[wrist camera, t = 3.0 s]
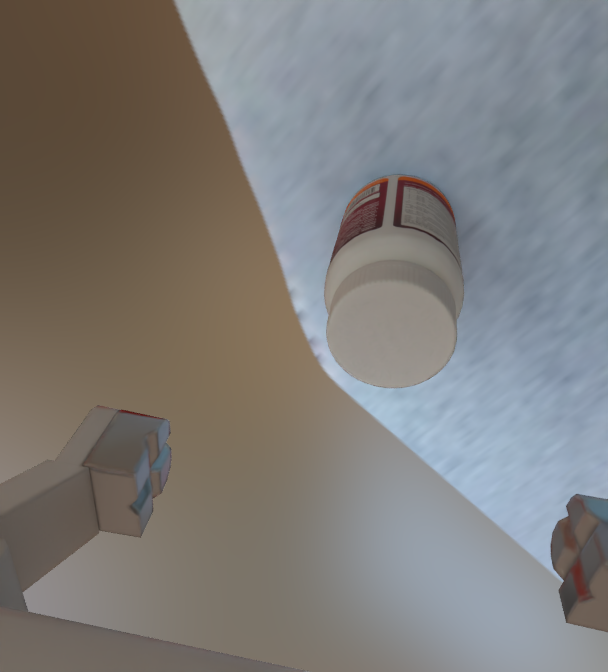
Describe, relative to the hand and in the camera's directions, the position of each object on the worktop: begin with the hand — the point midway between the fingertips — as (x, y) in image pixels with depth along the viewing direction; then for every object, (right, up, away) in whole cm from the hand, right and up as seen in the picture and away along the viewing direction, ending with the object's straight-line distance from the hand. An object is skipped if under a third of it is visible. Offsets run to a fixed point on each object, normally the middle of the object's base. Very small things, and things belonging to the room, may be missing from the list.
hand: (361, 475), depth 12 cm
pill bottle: (+4, +9, +20) cm, 23 cm away
